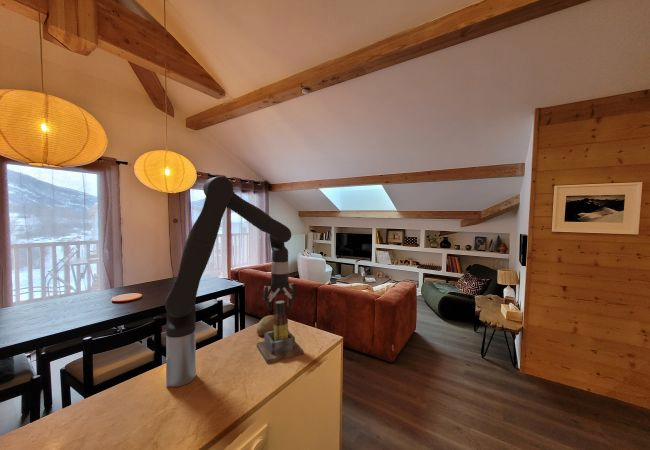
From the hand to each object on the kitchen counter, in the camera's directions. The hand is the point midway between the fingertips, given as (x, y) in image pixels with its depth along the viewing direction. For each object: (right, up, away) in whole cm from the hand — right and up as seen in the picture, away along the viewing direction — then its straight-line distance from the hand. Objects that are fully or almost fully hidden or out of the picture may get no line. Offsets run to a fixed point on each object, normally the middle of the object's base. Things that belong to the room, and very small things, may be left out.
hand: (279, 308), depth 115 cm
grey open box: (0, -19, +1) cm, 19 cm away
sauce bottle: (+1, -17, +1) cm, 17 cm away
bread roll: (-8, -18, +19) cm, 27 cm away
